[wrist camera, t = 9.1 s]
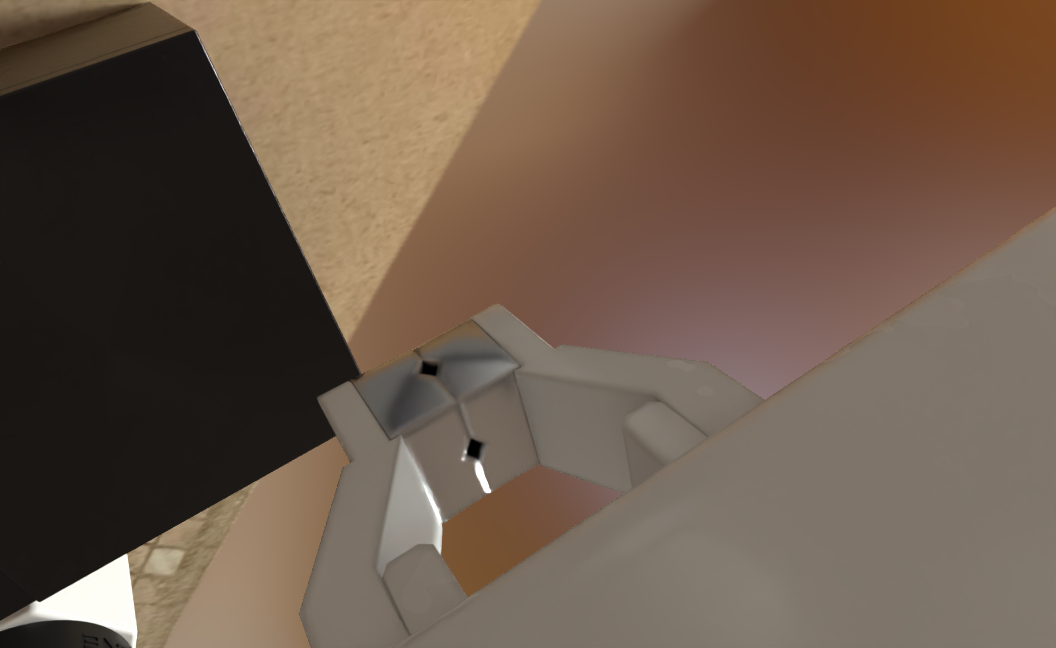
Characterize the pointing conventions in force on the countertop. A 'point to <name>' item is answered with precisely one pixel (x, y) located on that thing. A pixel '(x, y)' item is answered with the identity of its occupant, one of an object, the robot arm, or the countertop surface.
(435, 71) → the countertop surface
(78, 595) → the jar
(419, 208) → the countertop surface
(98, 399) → the oven
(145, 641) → the countertop surface
